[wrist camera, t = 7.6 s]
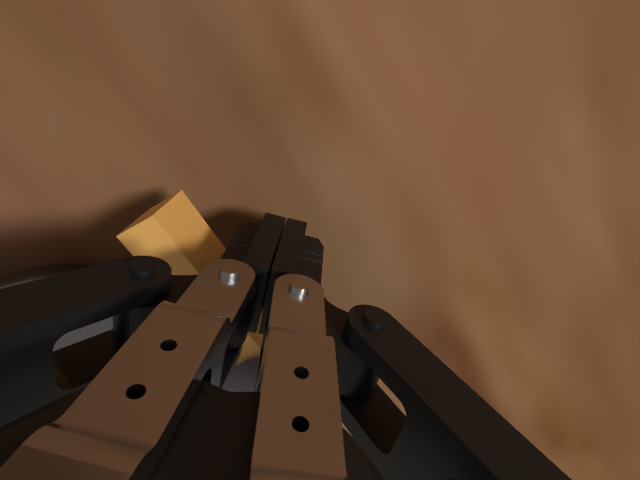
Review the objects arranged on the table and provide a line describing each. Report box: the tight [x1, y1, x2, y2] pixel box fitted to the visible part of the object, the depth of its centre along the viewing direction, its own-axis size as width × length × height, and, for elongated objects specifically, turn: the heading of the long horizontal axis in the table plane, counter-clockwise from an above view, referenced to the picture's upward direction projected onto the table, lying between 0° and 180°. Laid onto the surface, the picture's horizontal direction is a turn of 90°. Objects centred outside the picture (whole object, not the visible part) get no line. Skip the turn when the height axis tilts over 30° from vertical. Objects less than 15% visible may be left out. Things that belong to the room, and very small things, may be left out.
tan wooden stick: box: [116, 190, 263, 392], centre depth 14 cm, size 10×4×3 cm, turn 29°
